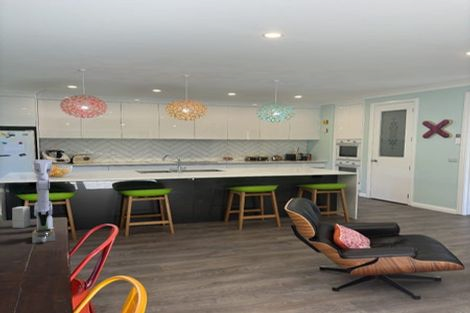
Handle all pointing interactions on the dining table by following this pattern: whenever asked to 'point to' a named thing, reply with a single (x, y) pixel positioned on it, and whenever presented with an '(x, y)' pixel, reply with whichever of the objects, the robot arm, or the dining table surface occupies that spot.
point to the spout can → (42, 226)
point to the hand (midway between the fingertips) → (43, 224)
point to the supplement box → (21, 217)
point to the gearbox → (43, 235)
